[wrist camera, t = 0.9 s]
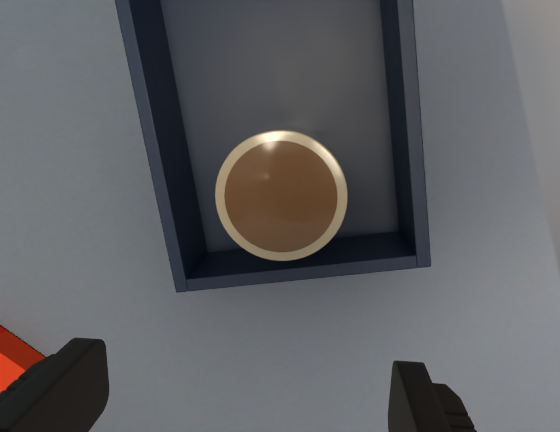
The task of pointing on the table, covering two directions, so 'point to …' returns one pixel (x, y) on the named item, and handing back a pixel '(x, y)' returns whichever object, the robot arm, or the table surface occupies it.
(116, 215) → the table surface
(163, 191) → the navy tray
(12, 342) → the building blocks
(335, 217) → the cup
